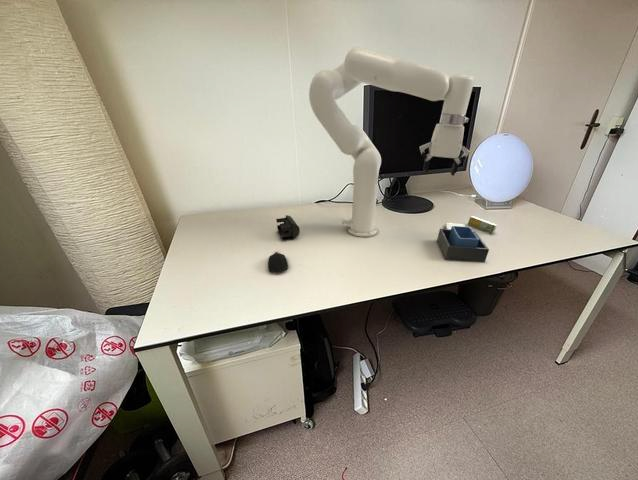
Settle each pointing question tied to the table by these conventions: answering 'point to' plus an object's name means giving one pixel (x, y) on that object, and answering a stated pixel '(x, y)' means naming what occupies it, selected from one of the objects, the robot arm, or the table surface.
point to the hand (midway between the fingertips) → (438, 173)
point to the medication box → (482, 224)
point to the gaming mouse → (277, 263)
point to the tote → (461, 249)
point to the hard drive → (449, 225)
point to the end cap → (288, 228)
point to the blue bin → (463, 237)
